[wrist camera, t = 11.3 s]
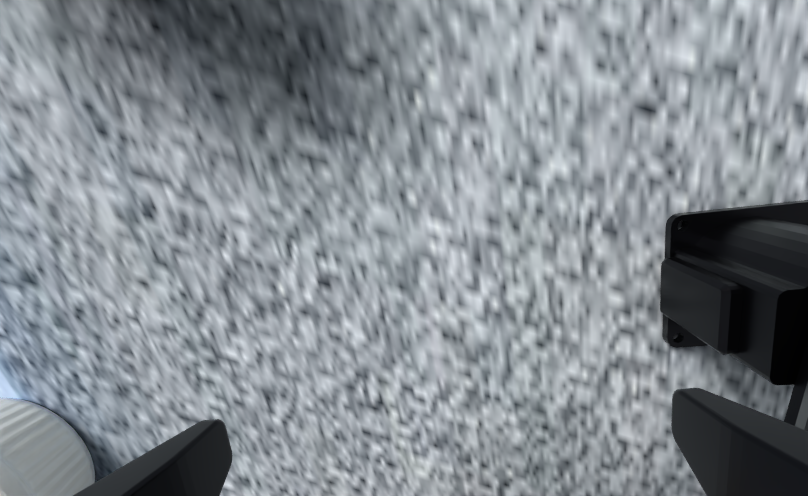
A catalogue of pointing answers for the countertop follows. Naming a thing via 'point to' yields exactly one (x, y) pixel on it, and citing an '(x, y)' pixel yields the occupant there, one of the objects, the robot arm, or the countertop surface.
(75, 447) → the ramekin
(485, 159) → the countertop surface
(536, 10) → the countertop surface
